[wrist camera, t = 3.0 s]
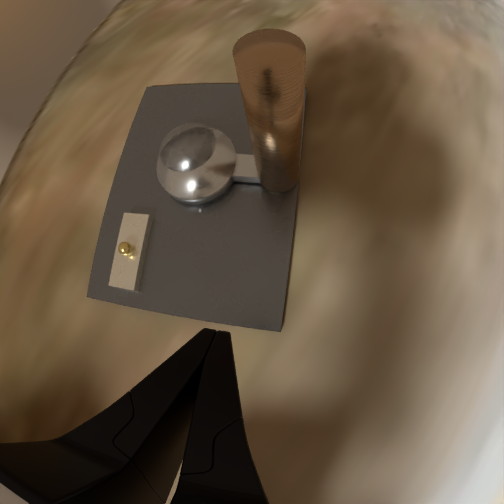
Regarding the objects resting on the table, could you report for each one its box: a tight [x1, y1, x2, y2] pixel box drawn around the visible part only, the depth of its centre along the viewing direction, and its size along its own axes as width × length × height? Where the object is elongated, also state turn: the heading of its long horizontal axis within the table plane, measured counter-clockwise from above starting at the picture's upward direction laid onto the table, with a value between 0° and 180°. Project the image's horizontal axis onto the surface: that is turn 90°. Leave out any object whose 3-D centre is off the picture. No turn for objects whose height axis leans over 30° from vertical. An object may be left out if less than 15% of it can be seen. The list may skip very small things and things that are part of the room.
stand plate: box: [87, 84, 306, 332], centre depth 23 cm, size 20×15×2 cm
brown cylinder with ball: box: [156, 29, 306, 205], centre depth 18 cm, size 6×11×12 cm, turn 82°
